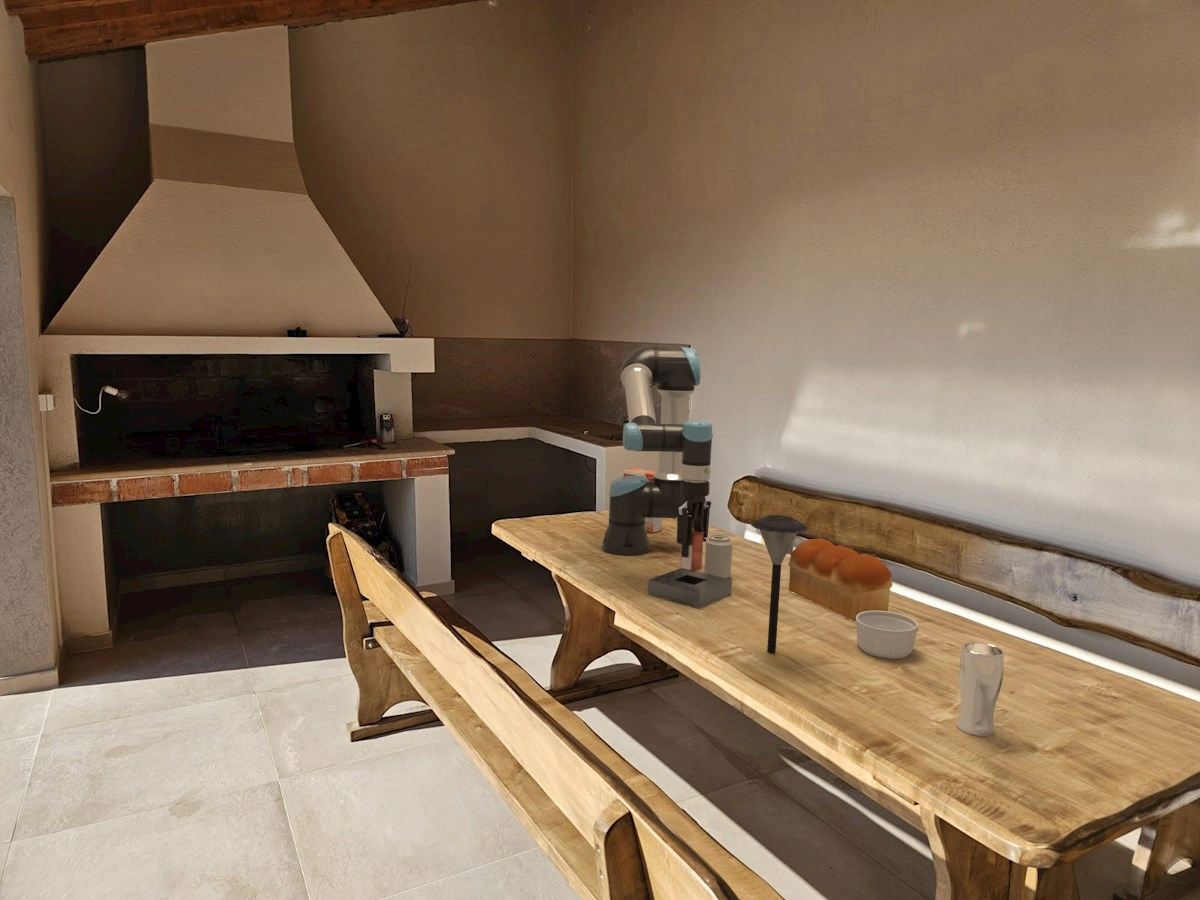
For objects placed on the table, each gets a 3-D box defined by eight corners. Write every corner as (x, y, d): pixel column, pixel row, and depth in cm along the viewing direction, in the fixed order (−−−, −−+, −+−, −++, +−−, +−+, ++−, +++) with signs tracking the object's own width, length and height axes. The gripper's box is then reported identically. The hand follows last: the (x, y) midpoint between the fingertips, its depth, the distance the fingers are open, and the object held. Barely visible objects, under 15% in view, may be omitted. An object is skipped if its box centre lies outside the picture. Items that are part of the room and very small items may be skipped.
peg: (680, 569, 214) (682, 532, 213) (688, 566, 217) (690, 529, 216) (693, 572, 212) (695, 534, 211) (701, 569, 215) (703, 532, 214)
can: (729, 574, 236) (731, 533, 234) (731, 581, 228) (733, 540, 226) (703, 572, 236) (705, 532, 235) (704, 580, 229) (706, 538, 227)
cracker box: (620, 526, 289) (622, 469, 286) (631, 524, 294) (633, 467, 291) (652, 534, 280) (654, 474, 278) (662, 531, 285) (665, 472, 282)
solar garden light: (806, 663, 172) (816, 525, 167) (748, 662, 172) (757, 524, 167) (792, 641, 184) (801, 512, 180) (738, 640, 184) (746, 511, 179)
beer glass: (946, 719, 148) (954, 641, 146) (983, 719, 149) (991, 641, 146) (966, 738, 141) (975, 656, 139) (1004, 738, 142) (1013, 656, 140)
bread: (786, 591, 221) (790, 538, 219) (821, 586, 227) (825, 535, 225) (852, 621, 199) (857, 563, 197) (890, 614, 205) (894, 558, 203)
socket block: (647, 594, 215) (648, 579, 214) (681, 581, 227) (682, 567, 226) (699, 608, 205) (699, 593, 204) (731, 594, 217) (732, 579, 216)
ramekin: (875, 663, 173) (878, 632, 172) (841, 641, 186) (844, 612, 185) (928, 659, 177) (931, 628, 176) (891, 637, 189) (894, 608, 188)
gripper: (689, 486, 202) (685, 576, 206) (724, 478, 216) (720, 563, 219) (664, 481, 207) (661, 570, 210) (700, 474, 220) (696, 557, 224)
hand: (691, 566), depth 215 cm, fingers closed on peg, 4 cm apart
